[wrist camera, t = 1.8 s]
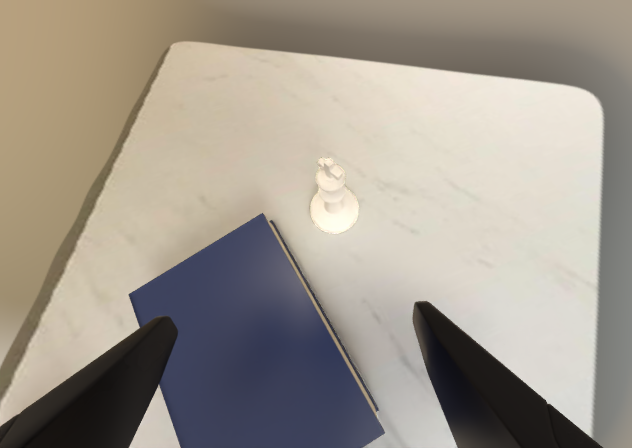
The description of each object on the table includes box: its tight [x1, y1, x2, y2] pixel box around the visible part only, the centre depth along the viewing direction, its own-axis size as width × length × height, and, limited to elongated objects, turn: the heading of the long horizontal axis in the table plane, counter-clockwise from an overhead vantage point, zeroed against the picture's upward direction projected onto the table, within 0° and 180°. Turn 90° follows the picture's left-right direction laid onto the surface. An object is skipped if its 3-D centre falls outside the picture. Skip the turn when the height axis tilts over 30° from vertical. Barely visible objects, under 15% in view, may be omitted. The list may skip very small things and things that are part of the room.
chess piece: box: [310, 157, 359, 234], centre depth 18 cm, size 5×5×10 cm
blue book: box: [129, 213, 385, 448], centre depth 19 cm, size 19×14×3 cm
